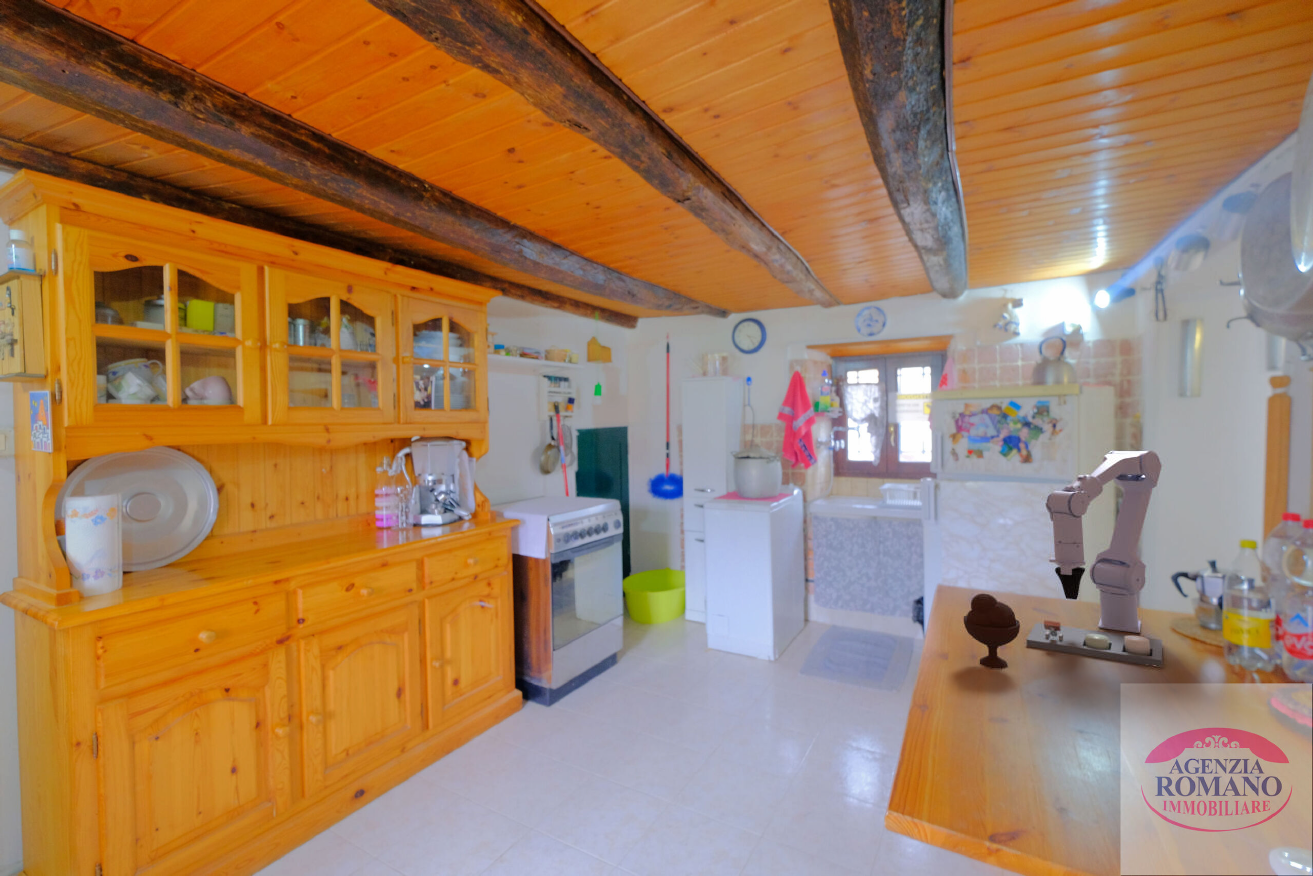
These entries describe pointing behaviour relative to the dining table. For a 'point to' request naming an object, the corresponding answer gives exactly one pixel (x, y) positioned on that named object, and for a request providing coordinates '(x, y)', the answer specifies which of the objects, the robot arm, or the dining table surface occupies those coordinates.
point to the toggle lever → (1052, 627)
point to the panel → (1075, 643)
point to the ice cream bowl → (991, 627)
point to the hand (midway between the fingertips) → (1071, 598)
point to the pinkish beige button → (1137, 645)
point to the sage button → (1097, 641)
